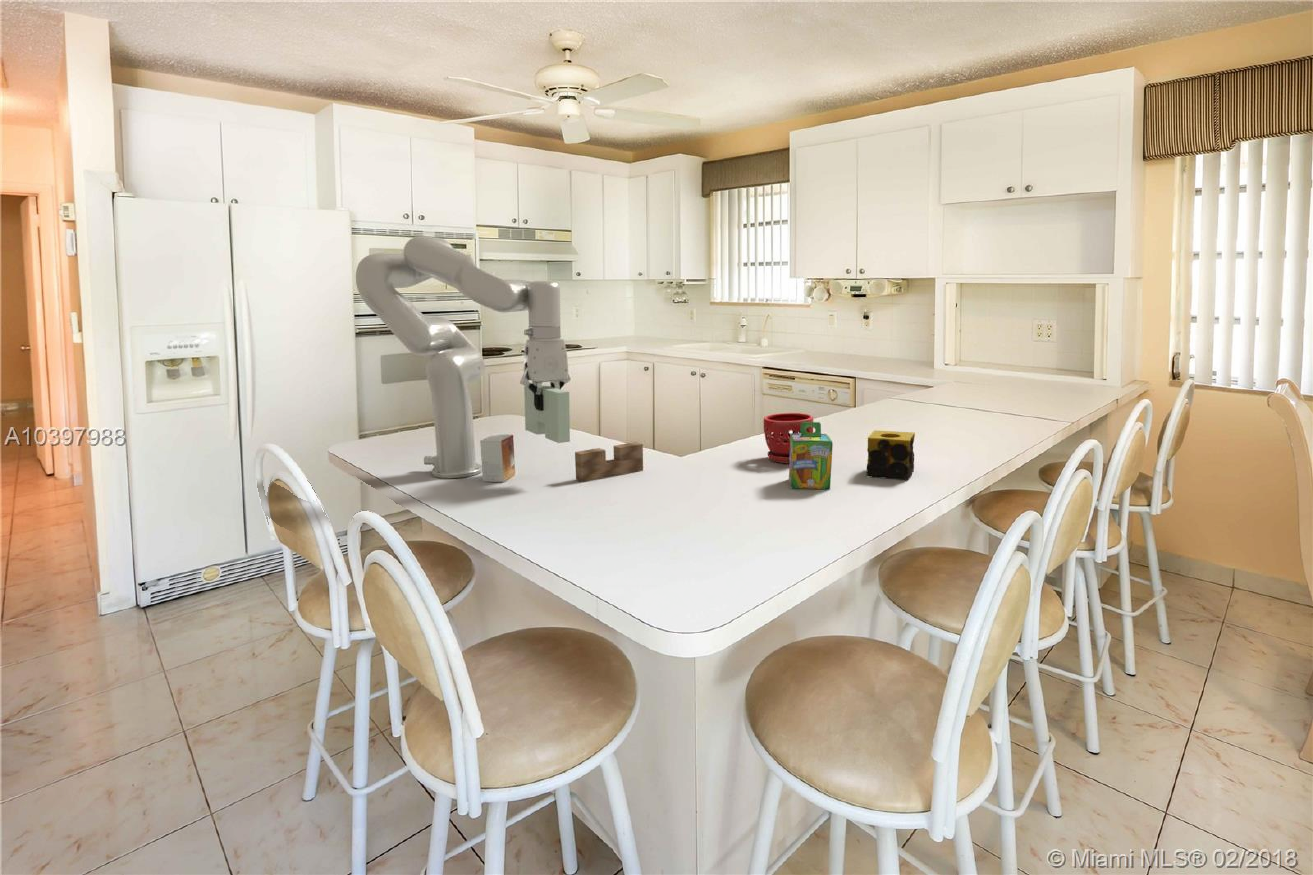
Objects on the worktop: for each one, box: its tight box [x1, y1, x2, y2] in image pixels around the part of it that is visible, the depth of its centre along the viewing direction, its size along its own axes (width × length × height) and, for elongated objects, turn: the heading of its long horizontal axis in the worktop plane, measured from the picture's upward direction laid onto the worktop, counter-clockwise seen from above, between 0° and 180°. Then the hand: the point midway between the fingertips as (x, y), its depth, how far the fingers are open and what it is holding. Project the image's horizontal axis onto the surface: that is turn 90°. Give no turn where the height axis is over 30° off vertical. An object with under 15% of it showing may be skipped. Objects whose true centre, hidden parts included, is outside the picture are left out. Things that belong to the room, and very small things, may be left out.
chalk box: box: [788, 421, 834, 490], centre depth 173 cm, size 9×9×15 cm
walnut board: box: [574, 441, 644, 483], centre depth 185 cm, size 18×3×7 cm, turn 125°
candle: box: [866, 430, 916, 481], centre depth 182 cm, size 10×10×10 cm
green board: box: [523, 383, 571, 444], centre depth 181 cm, size 18×3×12 cm, turn 35°
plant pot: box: [763, 412, 814, 465], centre depth 198 cm, size 13×13×12 cm
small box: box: [479, 433, 516, 483], centre depth 184 cm, size 8×6×10 cm
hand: (546, 408), depth 181 cm, fingers closed on green board, 3 cm apart
